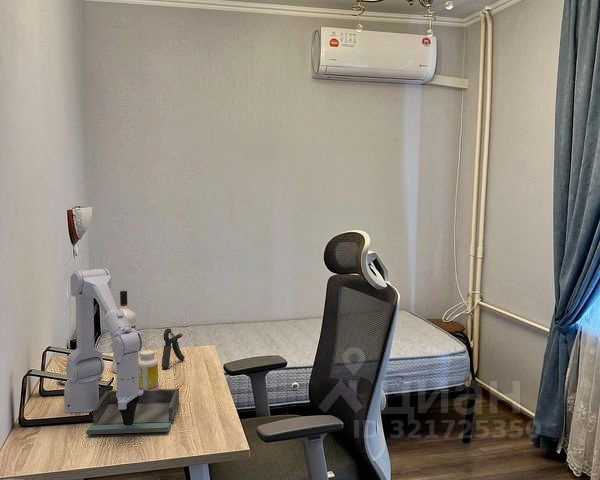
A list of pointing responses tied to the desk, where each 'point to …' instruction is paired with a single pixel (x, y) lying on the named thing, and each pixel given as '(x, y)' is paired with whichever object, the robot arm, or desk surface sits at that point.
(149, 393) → the box
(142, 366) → the supplement bottle
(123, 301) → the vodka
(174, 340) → the hand grip strengthener
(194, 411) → the desk surface
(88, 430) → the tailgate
